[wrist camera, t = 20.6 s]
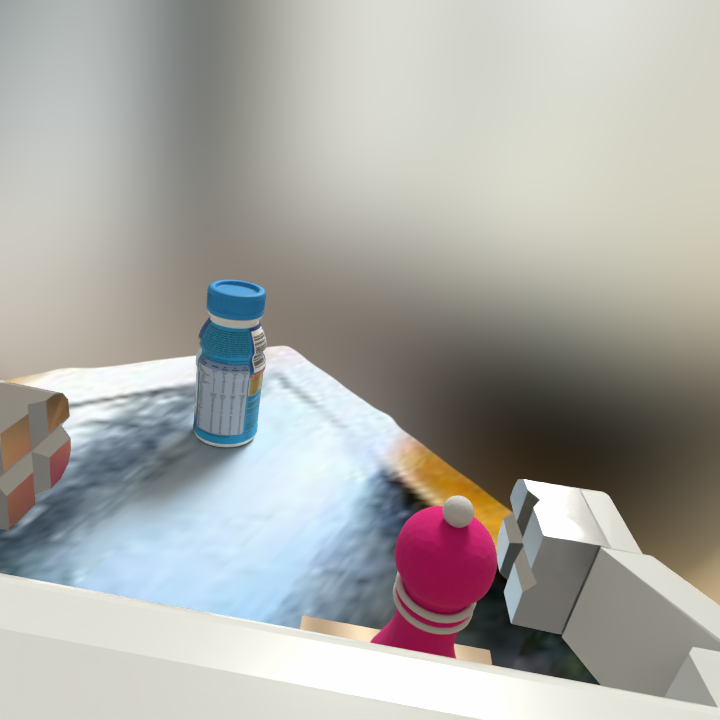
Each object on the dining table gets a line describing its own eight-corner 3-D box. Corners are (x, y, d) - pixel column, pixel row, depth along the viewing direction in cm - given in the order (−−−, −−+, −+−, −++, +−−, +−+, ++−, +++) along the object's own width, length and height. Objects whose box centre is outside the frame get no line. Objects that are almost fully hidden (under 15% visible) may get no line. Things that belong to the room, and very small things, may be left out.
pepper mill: (445, 798, 35) (535, 558, 28) (335, 769, 36) (394, 526, 28) (445, 694, 42) (517, 477, 34) (352, 671, 43) (403, 452, 35)
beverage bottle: (203, 455, 68) (214, 299, 60) (183, 421, 74) (190, 276, 66) (267, 444, 72) (285, 298, 64) (243, 412, 78) (256, 276, 71)
